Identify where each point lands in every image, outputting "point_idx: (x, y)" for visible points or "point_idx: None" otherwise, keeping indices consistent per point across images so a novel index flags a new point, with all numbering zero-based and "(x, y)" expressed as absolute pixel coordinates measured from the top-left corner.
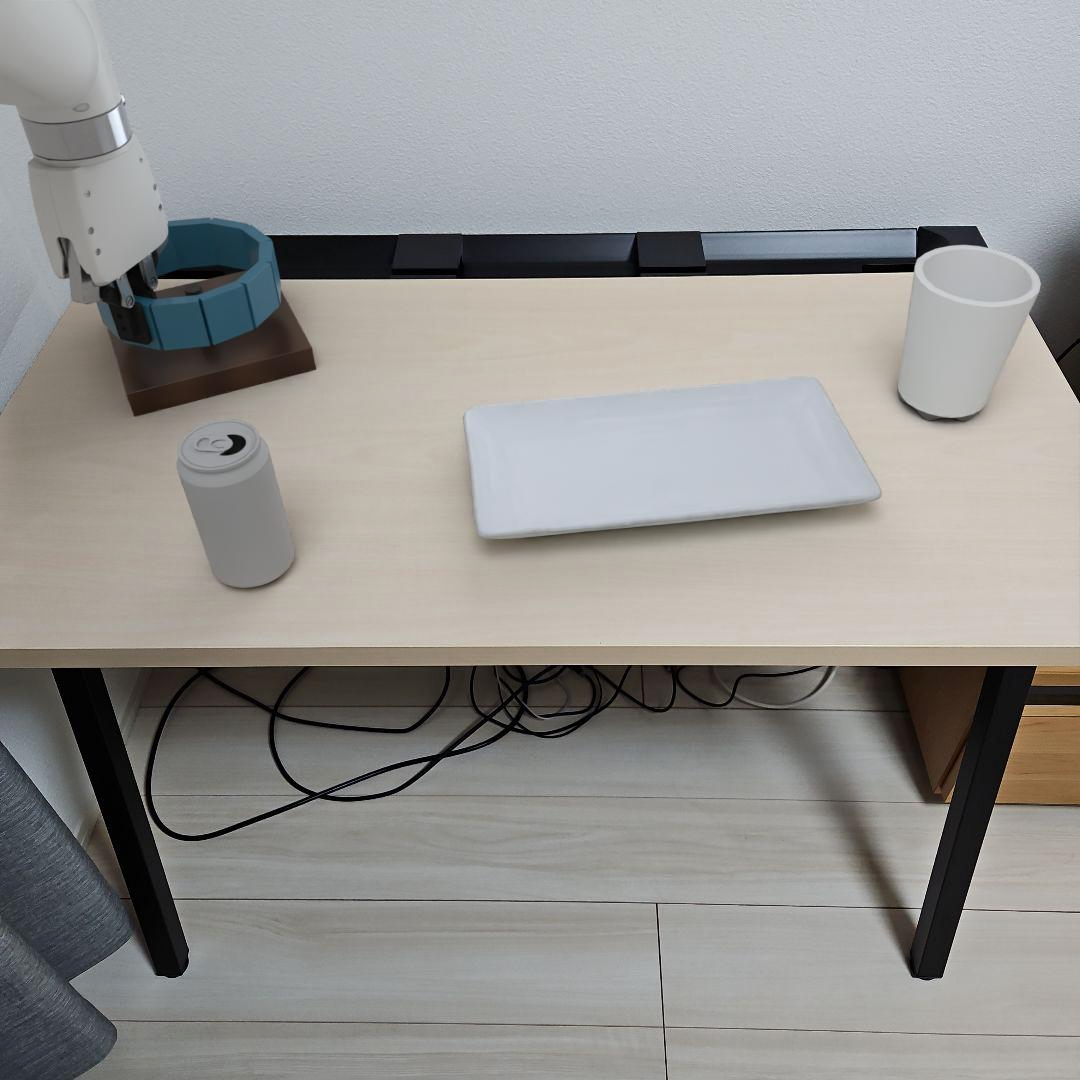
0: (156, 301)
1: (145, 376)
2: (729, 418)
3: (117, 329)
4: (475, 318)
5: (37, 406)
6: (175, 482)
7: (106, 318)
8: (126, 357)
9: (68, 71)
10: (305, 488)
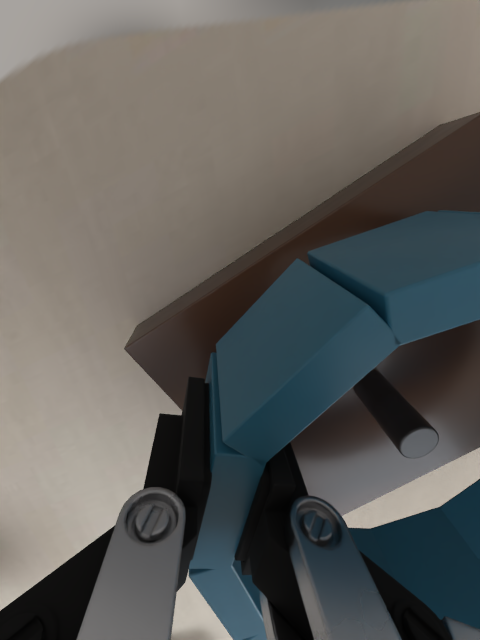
0: (219, 576)
1: (187, 358)
2: None
3: (157, 423)
4: None
5: (116, 102)
6: (10, 444)
7: (267, 311)
8: (247, 292)
9: None
10: (63, 559)
